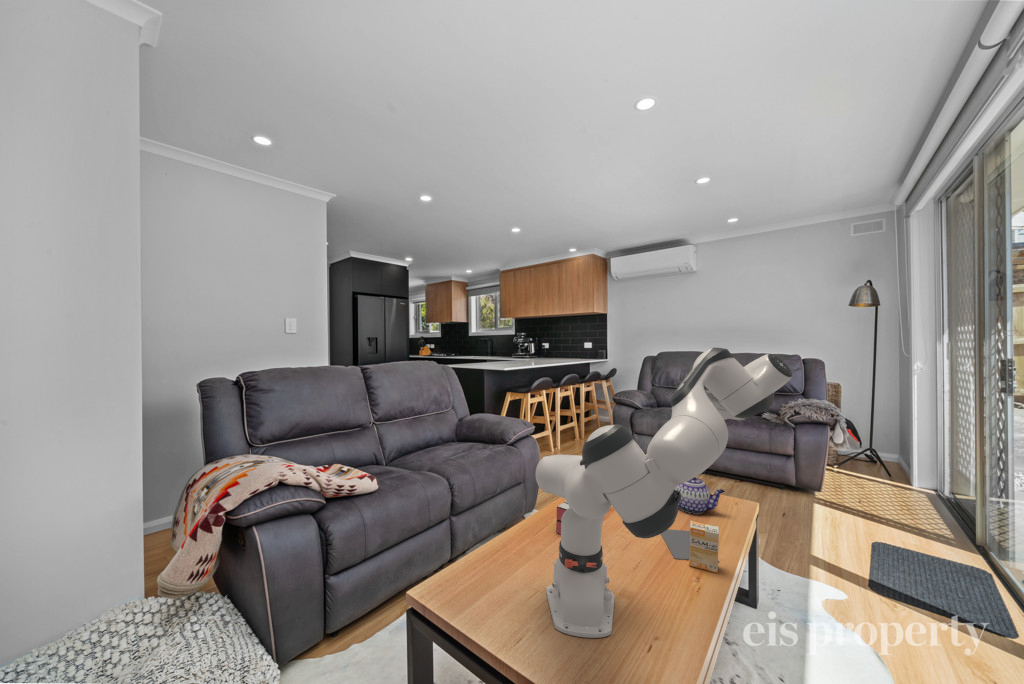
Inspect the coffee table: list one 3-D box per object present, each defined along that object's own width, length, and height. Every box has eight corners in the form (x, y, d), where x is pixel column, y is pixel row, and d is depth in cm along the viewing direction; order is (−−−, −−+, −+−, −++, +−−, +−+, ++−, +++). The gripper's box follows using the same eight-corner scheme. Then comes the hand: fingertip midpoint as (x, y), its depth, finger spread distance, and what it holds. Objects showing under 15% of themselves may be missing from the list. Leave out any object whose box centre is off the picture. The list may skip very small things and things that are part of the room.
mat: (719, 562, 124) (719, 561, 124) (674, 559, 126) (674, 558, 126) (697, 532, 144) (697, 531, 144) (658, 529, 146) (658, 528, 146)
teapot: (655, 505, 168) (656, 471, 168) (669, 495, 179) (669, 463, 179) (718, 525, 150) (718, 487, 150) (729, 513, 161) (729, 477, 161)
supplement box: (688, 566, 122) (689, 527, 121) (689, 558, 126) (690, 519, 125) (718, 574, 118) (718, 533, 117) (717, 565, 122) (718, 525, 121)
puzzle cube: (580, 542, 136) (580, 514, 136) (555, 533, 142) (556, 506, 142) (592, 531, 144) (593, 504, 144) (568, 523, 150) (569, 497, 150)
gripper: (704, 400, 100) (672, 422, 110) (768, 411, 104) (731, 432, 114) (697, 379, 103) (667, 403, 114) (759, 391, 108) (724, 413, 118)
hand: (699, 417), depth 114 cm, fingers open, 8 cm apart
